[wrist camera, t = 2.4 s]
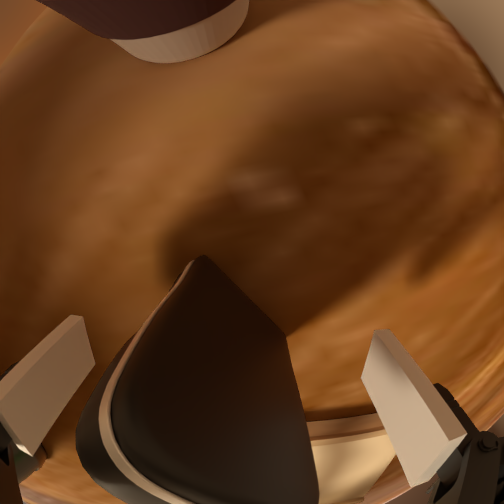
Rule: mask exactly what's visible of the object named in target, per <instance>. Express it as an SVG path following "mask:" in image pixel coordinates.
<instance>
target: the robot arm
mask: <svg viewBox="0 0 504 504" xmlns="http://www.w3.org/2000/svg"><path fill="white" fill-rule="evenodd" d="M95 364H96V363H95V360H94V357H93V353H92V350H91V346H90V343H89V339H88V335H87V331H86V327H85V323H84V319H83V316H77V315H70V316H69V317H67V318H66V319H65V320H64V321H63V322H62V323H61V324H60V325H58V326H57V327H56V328H55V329H54V330H53V331H52V332H51V333H50V334H48V335H47V336H46V337H45V338H44V339H43V340H42V341H41V342H40V343H39V344H38V345H37V346H35V347H34V348H33V349H32V350H31V351H30V352H29V353H28V354H27V355H26V356H25V357H24V358H23V359H22V360H20V361H18V362H16V363H15V364H13V365H11V366H10V367H9V368H8V369H7V370H6V371H5V374H4V373H3V374H2V375H1V376H0V504H23V501H22V497H21V493H20V489H19V484H20V483H21V482H22V481H24V480H25V479H26V478H27V477H29V476H30V475H31V474H32V473H33V472H34V471H37V470H39V469H40V468H41V467H42V465H43V464H44V462H45V460H46V458H47V455H46V452H45V450H44V448H43V447H42V445H41V442H42V441H43V439H44V438H45V436H46V434H47V433H48V431H49V430H50V428H51V427H52V425H53V424H54V422H55V421H56V419H57V418H58V416H59V415H60V413H61V412H62V410H63V409H64V407H65V406H66V405H67V403H68V402H69V400H70V399H71V397H72V396H73V395H74V393H75V392H76V390H77V389H78V388H79V386H80V385H81V383H82V382H83V381H84V379H85V378H86V376H87V375H88V374H89V372H90V371H91V370H92V368H93V367H94V365H95ZM361 379H362V381H363V383H364V385H365V387H366V389H367V392H368V394H369V396H370V398H371V400H372V402H373V404H374V406H375V408H376V410H377V413H378V415H379V417H380V419H381V421H382V423H383V425H384V428H385V430H386V432H387V434H388V436H389V439H390V441H391V443H392V445H393V448H394V450H395V452H396V454H397V457H398V459H399V461H400V463H401V466H402V468H403V470H404V473H405V475H406V477H407V480H408V482H409V485H410V487H414V486H416V485H419V484H422V483H424V482H427V481H429V480H430V479H431V477H432V476H433V475H434V474H435V473H436V472H437V474H438V476H439V478H438V479H437V480H436V481H435V482H434V483H433V484H432V486H431V487H430V488H429V489H428V490H427V492H426V493H427V494H428V493H429V492H430V491H431V490H432V489H433V491H432V494H431V496H430V499H429V502H428V504H504V437H500V438H498V437H497V436H496V435H495V434H493V433H491V432H488V431H481V432H479V431H478V430H477V428H476V427H475V425H474V424H473V423H472V421H471V420H470V418H469V417H468V416H467V414H466V413H465V412H464V410H463V409H462V408H461V407H459V404H458V402H457V401H456V400H454V397H453V396H452V394H451V393H450V392H449V391H448V389H446V388H445V387H443V386H442V385H440V384H439V383H436V384H432V383H431V382H430V380H429V379H428V378H427V376H426V375H425V374H424V372H423V371H422V370H421V369H420V367H419V366H418V365H417V363H416V362H415V361H414V359H413V358H412V357H411V356H410V354H409V353H408V352H407V351H406V349H405V348H404V347H403V346H402V344H401V343H400V342H399V341H398V339H397V338H396V337H395V336H394V334H393V333H392V332H391V331H390V329H383V330H374V334H373V338H372V342H371V345H370V349H369V353H368V356H367V360H366V363H365V366H364V370H363V373H362V376H361Z"/></svg>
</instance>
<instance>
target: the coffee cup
mask: <svg viewBox="0 0 504 504" xmlns="http://www.w3.org/2000/svg"><path fill="white" fill-rule="evenodd" d="M36 1H38V2H40V3H42V4H44V5H46V6H48V7H50V8H51V9H53V10H55V11H57V12H58V13H60V14H62V15H64V16H65V17H67V18H69V19H70V20H72V21H74V22H75V23H77V24H79V25H80V26H82V27H84V28H85V29H87V30H88V31H90V32H92V33H94V34H96V35H98V36H101V37H103V38H108V39H111V40H112V41H113V42H115V43H116V44H118V45H119V46H120V47H122V48H123V49H124V50H126V51H127V52H128V53H130V54H131V55H133V56H135V57H136V58H139V59H141V60H144V61H149V62H155V63H175V62H182V61H186V60H190V59H194V58H197V57H199V56H202V55H205V54H207V53H209V52H211V51H213V50H215V49H217V48H218V47H220V46H221V45H222V44H224V43H225V42H227V41H228V40H229V39H230V38H231V37H232V36H233V35H234V34H235V33H236V32H237V31H238V29H239V28H240V27H241V26H242V24H243V22H244V20H245V18H246V16H247V12H248V7H249V0H36Z"/></svg>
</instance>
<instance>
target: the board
mask: <svg viewBox="0 0 504 504" xmlns="http://www.w3.org/2000/svg"><path fill="white" fill-rule="evenodd" d="M306 423H307V427H308V431H309V436H310V441H311V446H312V450H313V456H314V461H315V466H316V471H317V477H318V483H319V493H320V497H319V504H355V503H360V502H362V501H363V500H364V496H365V495H366V493H367V492H368V491H369V490H370V489H371V487H372V486H373V485H374V483H375V482H376V481H377V480H378V478H379V477H380V476H381V474H382V473H383V472H384V470H385V469H386V467H387V466H388V465H389V463H390V462H391V460H392V459H393V458H394V456H395V455H396V452H395V450H394V448H393V445H392V443H391V441H390V439H389V436H388V434H387V432H386V430H385V428H384V425H383V423H382V421H381V419H380V417H379V415H378V413H374V414H368V415H362V416H356V417H349V418H342V419H333V420H324V421H313V422H306Z"/></svg>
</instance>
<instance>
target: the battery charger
mask: <svg viewBox="0 0 504 504" xmlns="http://www.w3.org/2000/svg"><path fill="white" fill-rule="evenodd" d="M76 450H77V453H78V456H79V458H80V461H81V464H82V466H83V467H84V469H85V470H86V471H87V473H88V474H89V475H90V476H91V478H92V479H93V480H94V481H95V482H96V483H97V484H98V485H100V486H101V487H102V488H104V489H105V490H106V491H108V492H109V493H110V494H112V495H113V496H115V497H117V498H118V499H120V500H122V501H124V502H126V503H128V504H319V497H320V493H319V483H318V477H317V471H316V466H315V461H314V456H313V450H312V446H311V441H310V436H309V431H308V427H307V423H306V418H305V414H304V410H303V406H302V402H301V398H300V394H299V390H298V387H297V383H296V379H295V375H294V372H293V368H292V364H291V359H290V355H289V350H288V345H287V340H286V336H285V334H284V333H283V332H282V331H281V330H280V329H279V328H278V327H277V326H276V325H275V324H274V323H273V322H272V321H271V320H270V319H269V318H268V317H267V316H266V315H265V314H264V313H263V312H262V311H261V310H260V309H259V308H258V307H257V306H256V305H255V304H254V303H253V302H252V301H251V300H250V299H249V298H248V297H247V296H246V295H245V294H244V293H243V292H242V291H241V290H240V289H239V288H238V287H237V286H236V285H235V284H234V283H233V282H232V281H231V280H230V279H229V278H228V277H227V276H226V275H225V274H224V273H223V272H222V271H221V270H220V269H219V268H218V267H217V266H216V265H215V264H214V263H213V262H212V261H211V260H210V259H209V258H208V257H207V256H204V255H202V256H199V257H198V258H197V259H196V260H192V261H191V262H190V263H189V264H188V265H187V266H186V268H185V270H184V271H183V272H182V273H181V274H180V275H179V276H178V278H177V279H176V281H175V282H174V284H173V286H172V287H171V289H170V290H169V292H168V294H167V295H166V296H165V297H164V298H163V300H162V301H161V302H160V303H159V304H158V306H157V307H156V308H155V309H154V311H153V312H152V313H151V314H150V316H149V317H148V318H147V320H146V321H145V322H144V324H143V325H142V326H141V328H140V329H139V330H138V332H136V333H135V334H134V335H133V336H132V337H131V338H130V339H129V340H128V341H127V342H126V343H125V344H124V346H123V347H122V348H121V350H120V351H119V352H118V354H117V355H116V356H115V358H114V359H113V361H112V362H111V364H110V365H109V366H108V368H107V370H106V371H105V373H104V374H103V376H102V378H101V379H100V381H99V382H98V384H97V386H96V388H95V389H94V391H93V393H92V395H91V396H90V398H89V400H88V402H87V404H86V406H85V407H84V409H83V411H82V413H81V416H80V419H79V422H78V425H77V428H76Z"/></svg>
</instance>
